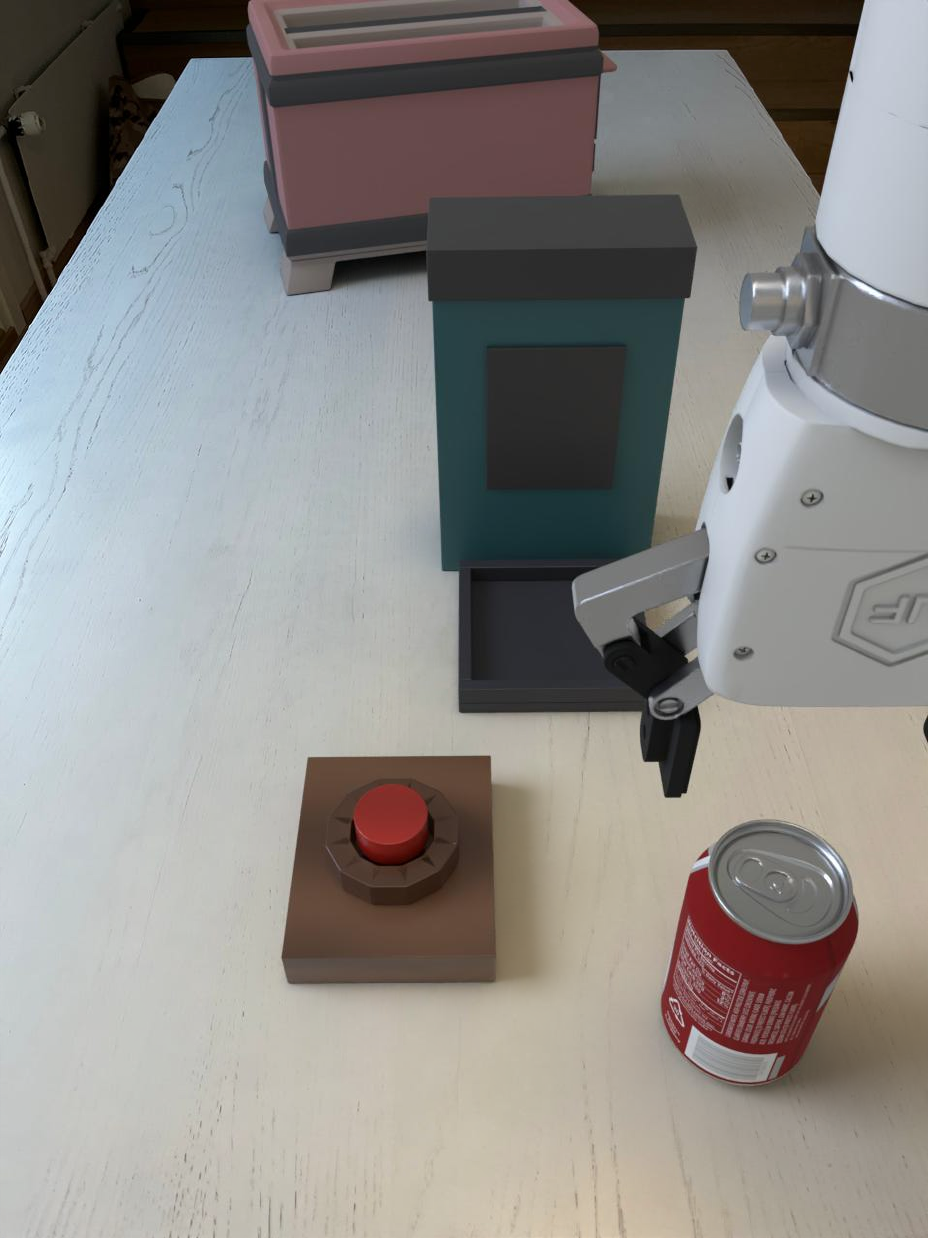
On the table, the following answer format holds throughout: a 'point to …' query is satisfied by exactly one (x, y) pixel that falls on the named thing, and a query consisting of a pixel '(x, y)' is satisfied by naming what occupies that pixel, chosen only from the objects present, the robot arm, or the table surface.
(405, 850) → the button
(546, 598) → the tray
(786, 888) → the soda can
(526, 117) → the toaster
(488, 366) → the drinks machine
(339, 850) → the switch
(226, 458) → the table surface
